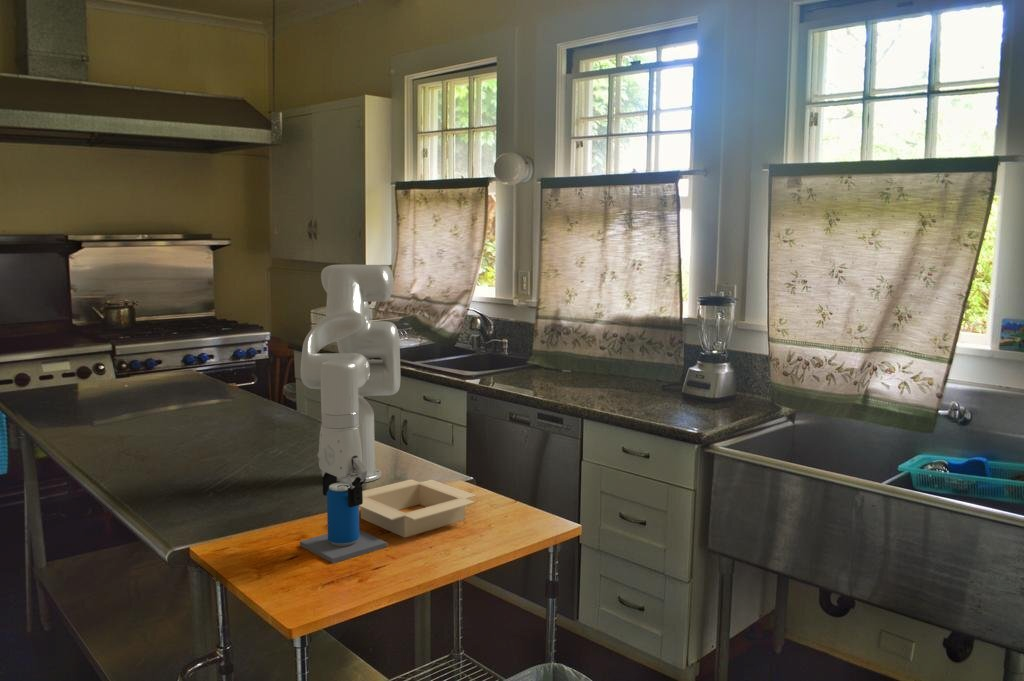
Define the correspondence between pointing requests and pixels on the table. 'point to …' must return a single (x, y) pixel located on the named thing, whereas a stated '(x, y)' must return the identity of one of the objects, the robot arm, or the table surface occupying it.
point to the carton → (436, 496)
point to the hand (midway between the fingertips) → (342, 499)
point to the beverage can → (341, 516)
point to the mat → (342, 547)
